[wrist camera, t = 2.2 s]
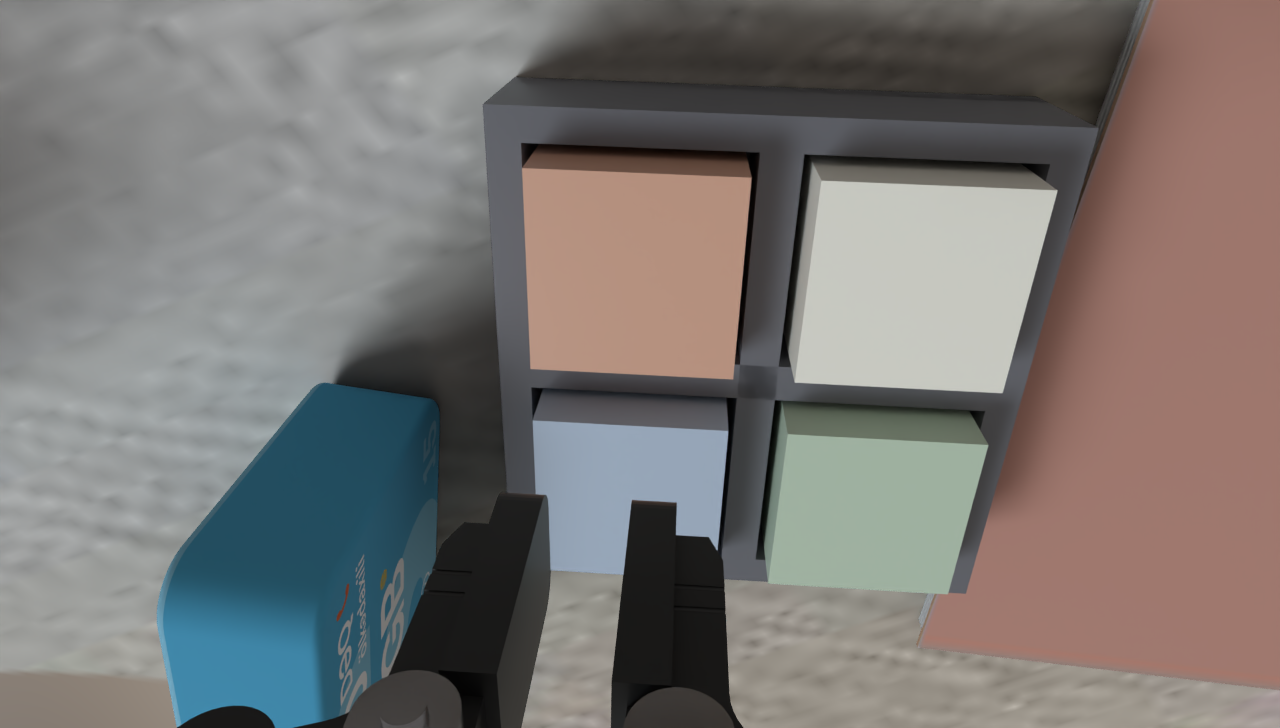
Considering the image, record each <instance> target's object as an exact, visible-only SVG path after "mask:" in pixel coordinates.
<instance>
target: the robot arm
mask: <svg viewBox="0 0 1280 728" xmlns="http://www.w3.org/2000/svg"><path fill="white" fill-rule="evenodd" d="M676 516H677V502H660V501H643V500H632V502H631V511H630V520H629V529H628V538H627V547H626V556H625V565H624V575H623V584H622V593H621V602H620V611H619V620H618V629H617V638H616V647H615V657H614V666H613V675H612V698H611V728H743V727H742V725H741V724H740V722H739V721H738V719H737V718H736V716H735V714H734V712H733V709H732V706H731V703H730V696H729V677H728V655H727V633H726V614H725V592H724V566H723V559H722V558H721V556H720V555H719V553H718V551H717V550H716V548H715V546H714V545H713V543H712V541H711V540H710V538H709V537H699V536H682V535H676ZM550 573H551V567H550V536H549V507H548V498H547V495H539V494H522V493H505V492H501V493H500V494H499V496H498V498H497V501H496V504H495V507H494V510H493V513H492V516H491V519H490V521H489V524H480V523H464V524H462V525H461V526H460V527H459V528H458V529H457V530H456V531H455V532H454V533H453V534H452V535H451V536H450V537H449V538H448V539H447V540H446V541H445V542H444V543H443V544H442V546H441V548H440V551H439V553H438V556H437V558H436V561H435V563H434V566H433V568H432V574H430V575H429V578H428V580H427V583H426V585H425V588H424V593H423V595H421V597H420V600H419V602H418V605H417V607H416V610H415V612H414V615H413V617H412V619H411V622H410V624H409V627H408V629H407V632H406V634H405V637H404V639H403V641H402V644H401V646H400V649H399V651H398V654H397V656H396V659H395V661H394V664H393V666H392V668H391V671H390V673H389V675H388V676H387V677H385V678H382V679H381V680H379V681H377V682H375V683H374V684H372V685H371V686H370V687H369V688H367V689H366V690H365V691H364V692H363V693H362V694H361V695H360V696H359V697H358V698H357V700H356V701H355V702H354V704H353V706H352V708H351V709H350V711H349V712H348V713H346V714H343V715H341V716H338V717H336V718H333V719H329V720H326V721H322V722H317V723H312V724H308V725H303V726H299V727H294V728H521V726H522V721H523V717H524V712H525V708H526V703H527V698H528V694H529V689H530V684H531V680H532V675H533V671H534V666H535V661H536V657H537V652H538V648H539V643H540V638H541V634H542V629H543V624H544V620H545V615H546V611H547V605H548V599H549V590H550ZM177 728H275V726H274V724H273V722H272V720H271V719H270V718H269V717H268V716H267V715H266V714H265V713H263V712H262V711H260V710H258V709H255V708H253V707H248V706H226V707H220V708H216V709H212V710H209V711H207V712H204V713H201V714H199V715H197V716H195V717H193V718H191V719H190V720H188V721H186V722H185V723H183V724H182V725H180V726H179V727H177Z"/></svg>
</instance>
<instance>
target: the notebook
mask: <svg viewBox="0 0 1280 728" xmlns="http://www.w3.org/2000/svg"><path fill="white" fill-rule="evenodd" d="M1095 126H1096V127H1098V128H1099V129H1098V133H1097V136H1096V140H1095V143H1094V147H1093V150H1092V154H1091V157H1090V161H1089V164H1088V168H1087V171H1086V175H1085V178H1084V182H1083V185H1082V189H1081V192H1080V196H1079V199H1078V203H1077V206H1076V210H1075V213H1074V217H1073V220H1072V224H1071V227H1070V231H1069V235H1068V238H1067V242H1066V245H1065V249H1064V252H1063V256H1062V259H1061V263H1060V266H1059V270H1058V273H1057V277H1056V280H1055V284H1054V287H1053V291H1052V294H1051V298H1050V301H1049V305H1048V308H1047V312H1046V315H1045V319H1044V322H1043V326H1042V329H1041V333H1040V336H1039V340H1038V343H1037V347H1036V350H1035V354H1034V357H1033V361H1032V364H1031V368H1030V371H1029V375H1028V378H1027V382H1026V385H1025V389H1024V392H1023V396H1022V399H1021V403H1020V406H1019V410H1018V413H1017V417H1016V420H1015V424H1014V427H1013V431H1012V434H1011V438H1010V441H1009V445H1008V448H1007V452H1006V455H1005V459H1004V462H1003V466H1002V469H1001V473H1000V476H999V480H998V483H997V487H996V490H995V494H994V497H993V501H992V504H991V508H990V511H989V515H988V518H987V522H986V525H985V529H984V532H983V536H982V539H981V543H980V546H979V550H978V553H977V557H976V560H975V564H974V567H973V571H972V574H971V578H970V581H969V585H968V588H967V592H966V594H961V593H948V594H932V593H928V594H927V597H926V600H925V603H924V606H923V608H922V611H921V614H920V617H919V620H920V621H919V623H920V624H921V628H922V630H921V633H920V635H919V638H918V641H917V647H918V648H926V649H934V650H943V651H951V652H960V653H968V654H977V655H985V656H994V657H1002V658H1011V659H1019V660H1027V661H1036V662H1044V663H1053V664H1061V665H1070V666H1078V667H1087V668H1095V669H1104V670H1112V671H1121V672H1129V673H1138V674H1146V675H1155V676H1163V677H1172V678H1180V679H1188V680H1197V681H1205V682H1214V683H1222V684H1231V685H1239V686H1248V687H1256V688H1265V689H1273V690H1280V0H1140V2H1139V5H1138V8H1137V10H1136V13H1135V16H1134V19H1133V21H1132V24H1131V27H1130V30H1129V33H1128V35H1127V38H1126V41H1125V44H1124V47H1123V49H1122V52H1121V55H1120V58H1119V61H1118V63H1117V66H1116V69H1115V72H1114V75H1113V77H1112V80H1111V83H1110V86H1109V89H1108V91H1107V94H1106V97H1105V100H1104V103H1103V105H1102V108H1101V111H1100V114H1099V117H1098V119H1097V122H1096V125H1095Z"/></svg>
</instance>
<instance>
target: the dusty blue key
mask: <svg viewBox="0 0 1280 728" xmlns="http://www.w3.org/2000/svg"><path fill="white" fill-rule="evenodd" d="M533 441H534V464H535V488H536V494H539V495H547V498H548V507H549V536H550V567H551V570H556V571H572V572H589V573H605V574H621V575H624V565H625V556H626V547H627V538H628V529H629V520H630V511H631V502H632V500H643V501H660V502H677V516H676V535H682V536H699V537H709V538H710V540H711V541H712V543H713V545H714V546H715V548H716V550H718V539H719V528H720V517H721V507H722V496H723V485H724V474H725V463H726V452H727V441H728V417H727V402H726V397H707V396H688V395H669V394H649V393H630V392H611V391H592V390H573V389H554V388H543V390H542V393H541V397H540V400H539V403H538V406H537V409H536V412H535V415H534V418H533Z"/></svg>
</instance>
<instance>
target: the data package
mask: <svg viewBox="0 0 1280 728" xmlns="http://www.w3.org/2000/svg"><path fill="white" fill-rule="evenodd" d="M439 430H440V414H439V408H438V405H437V403H436V402H435V401H434V400H433V399H429V398H423V397H416V396H410V395H403V394H396V393H390V392H383V391H377V390H370V389H363V388H357V387H350V386H344V385H337V384H330V383H320V384H318V385H316V386H315V387H313V388H312V390H311V391H310V392H309V393H308V394H307V395H306V397H305V398H304V399H303V400H302V401H301V403H300V404H299V405H298V406H297V408H296V409H295V410H294V411H293V412H292V414H291V415H290V416H289V417H288V418H287V420H286V421H285V422H284V423H283V424H282V426H281V427H280V428H279V429H278V431H277V432H276V433H275V434H274V435H273V437H272V438H271V439H270V440H269V441H268V443H267V444H266V445H265V446H264V447H263V449H262V450H261V451H260V452H259V453H258V455H257V456H256V457H255V458H254V460H253V461H252V462H251V463H250V464H249V466H248V467H247V468H246V469H245V470H244V472H243V473H242V474H241V475H240V476H239V478H238V479H237V480H236V481H235V483H234V484H233V485H232V486H231V487H230V489H229V490H228V491H227V492H226V493H225V495H224V496H223V497H222V498H221V499H220V501H219V502H218V503H217V504H216V506H215V507H214V508H213V509H212V510H211V512H210V513H209V514H208V515H207V516H206V518H205V519H204V520H203V521H202V522H201V524H200V525H199V526H198V527H197V529H196V530H195V531H194V532H193V533H192V535H191V536H190V537H189V538H188V539H187V541H186V542H185V543H184V544H183V545H182V547H181V548H180V549H179V551H178V552H177V554H176V555H175V557H174V559H173V561H172V562H171V564H170V566H169V569H168V571H167V573H166V576H165V578H164V581H163V584H162V587H161V591H160V595H159V600H158V607H157V626H158V632H159V637H160V642H161V648H162V653H163V658H164V663H165V668H166V673H167V679H168V684H169V689H170V694H171V699H172V704H173V709H174V714H175V719H176V725H177V727H179V726H180V725H182V724H183V723H185V722H186V721H188V720H190V719H191V718H193V717H195V716H197V715H199V714H201V713H204V712H207V711H209V710H212V709H216V708H220V707H226V706H248V707H253V708H255V709H258V710H260V711H262V712H263V713H265V714H266V715H267V716H268V717H269V718H270V719H271V720H272V722H273V724H274V726H275V728H294V727H299V726H303V725H308V724H312V723H317V722H322V721H326V720H329V719H333V718H336V717H338V716H341V715H343V714H346V713H348V712H349V711H350V709H351V708H352V706H353V704H354V702H355V701H356V700H357V698H358V697H359V696H360V695H361V694H362V693H363V692H364V691H365V690H366V689H367V688H369V687H370V686H371V685H372V684H374V683H375V682H377V681H379V680H381V679H382V678H385V677H387V676H388V675H389V673H390V671H391V668H392V666H393V664H394V661H395V659H396V656H397V654H398V651H399V649H400V646H401V644H402V641H403V639H404V637H405V634H406V632H407V629H408V627H409V624H410V622H411V619H412V617H413V615H414V612H415V610H416V607H417V605H418V602H419V600H420V597H421V595H423V593H424V588H425V585H426V583H427V580H428V578H429V575H430V574H432V568H433V566H434V563H435V561H436V536H437V501H438V465H439Z"/></svg>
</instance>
